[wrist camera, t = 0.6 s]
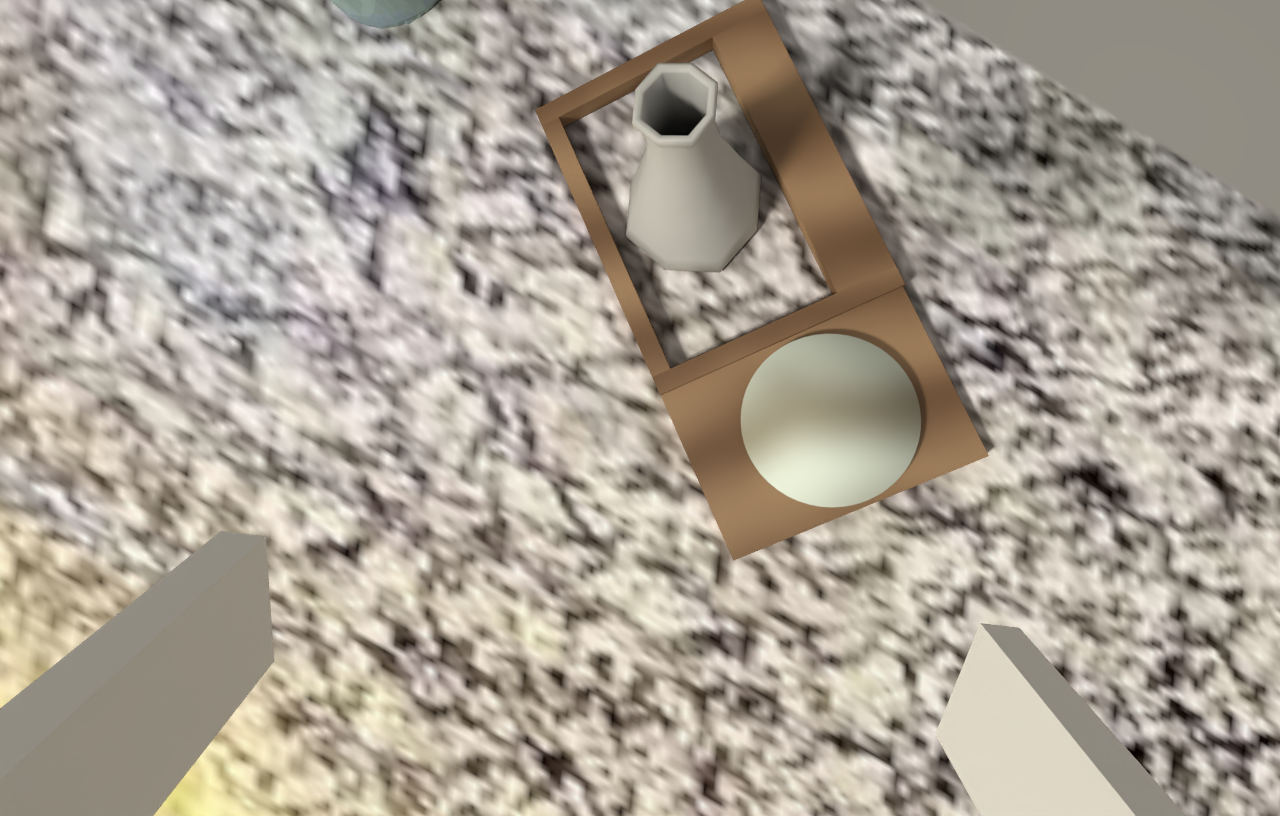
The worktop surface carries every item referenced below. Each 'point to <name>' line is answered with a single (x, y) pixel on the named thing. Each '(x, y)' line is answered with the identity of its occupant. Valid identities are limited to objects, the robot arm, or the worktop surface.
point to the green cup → (384, 11)
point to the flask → (688, 175)
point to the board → (789, 322)
